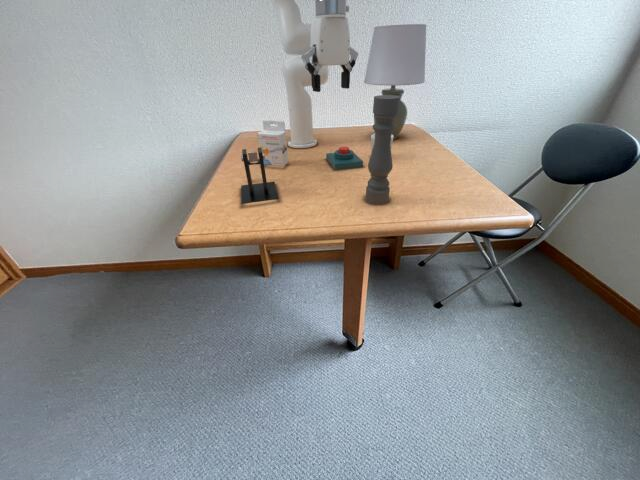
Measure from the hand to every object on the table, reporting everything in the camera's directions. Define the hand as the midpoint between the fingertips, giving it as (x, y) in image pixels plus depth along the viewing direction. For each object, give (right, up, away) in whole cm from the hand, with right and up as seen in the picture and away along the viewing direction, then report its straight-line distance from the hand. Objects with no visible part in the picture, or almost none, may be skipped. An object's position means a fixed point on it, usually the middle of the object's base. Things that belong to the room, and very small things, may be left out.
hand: (331, 89), depth 78 cm
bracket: (-21, -30, +2) cm, 36 cm away
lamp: (+28, +4, +47) cm, 55 cm away
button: (+5, -12, +19) cm, 23 cm away
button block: (+5, -15, +22) cm, 27 cm away
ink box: (-19, -16, +22) cm, 33 cm away
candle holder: (+12, -31, -2) cm, 34 cm away
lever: (-22, -21, 0) cm, 30 cm away
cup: (+19, -13, +24) cm, 33 cm away
